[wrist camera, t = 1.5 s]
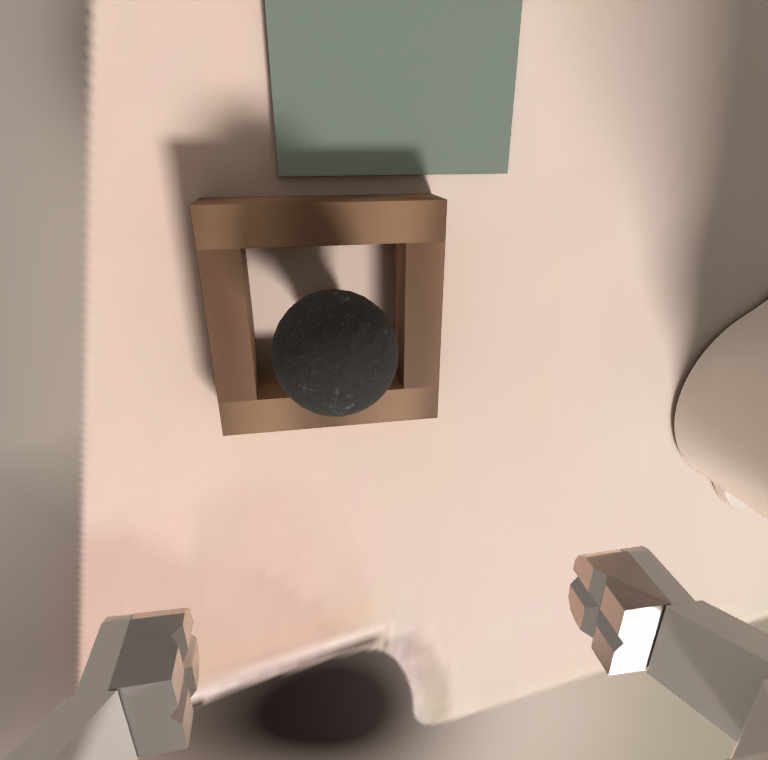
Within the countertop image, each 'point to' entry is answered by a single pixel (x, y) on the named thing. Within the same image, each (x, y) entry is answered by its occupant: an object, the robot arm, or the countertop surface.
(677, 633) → the robot arm
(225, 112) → the countertop surface
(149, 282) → the countertop surface
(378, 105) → the rubber mat
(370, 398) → the light bulb
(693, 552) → the countertop surface
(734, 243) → the countertop surface
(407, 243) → the socket block
